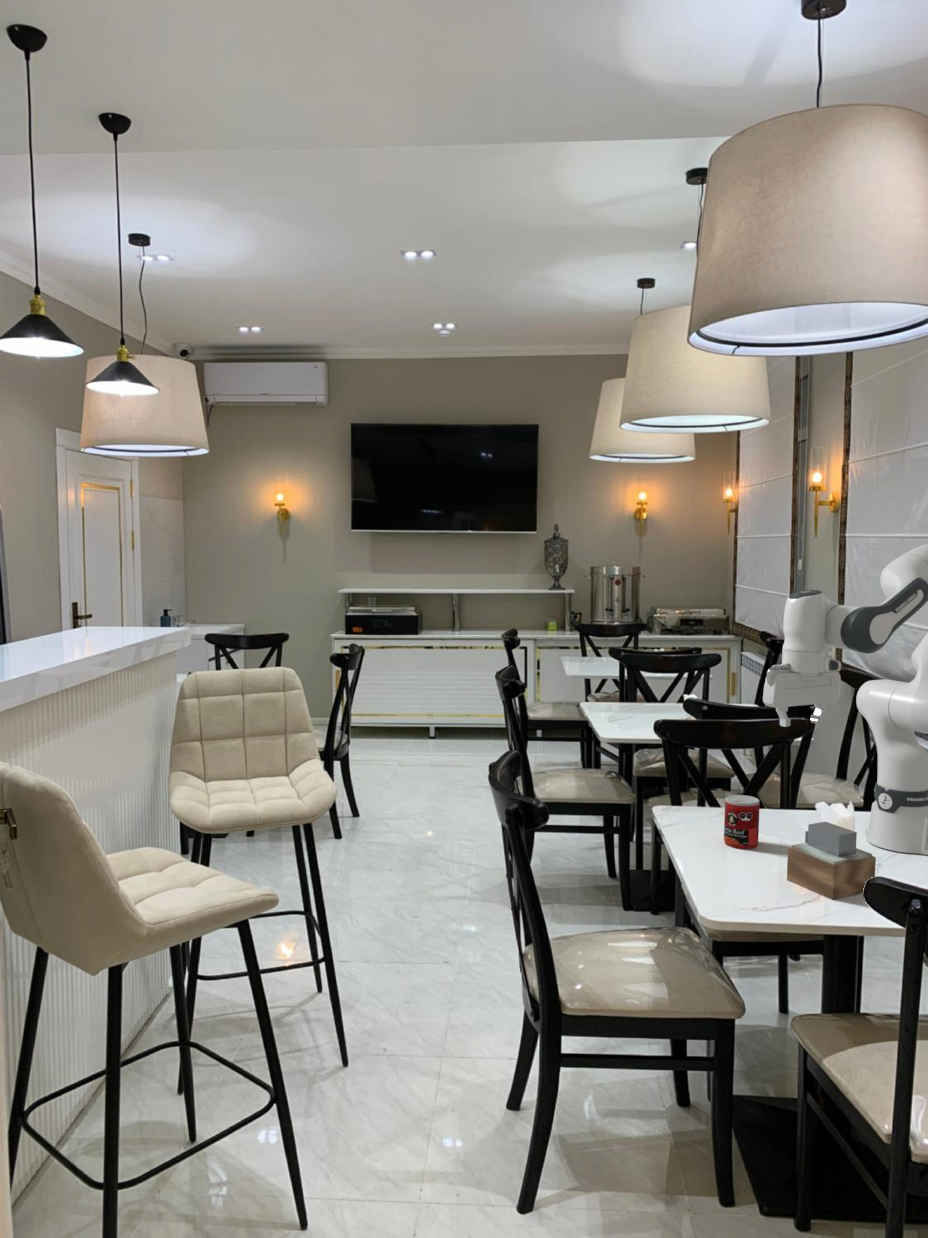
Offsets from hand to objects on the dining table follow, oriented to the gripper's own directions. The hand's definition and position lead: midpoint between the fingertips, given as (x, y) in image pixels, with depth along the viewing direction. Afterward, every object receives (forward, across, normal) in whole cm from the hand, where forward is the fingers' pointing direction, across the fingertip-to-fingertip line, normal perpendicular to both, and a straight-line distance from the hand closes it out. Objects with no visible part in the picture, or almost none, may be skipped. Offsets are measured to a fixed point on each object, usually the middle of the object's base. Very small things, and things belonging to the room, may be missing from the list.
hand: (800, 724), depth 198 cm
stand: (+31, -5, -14) cm, 34 cm away
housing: (+24, -5, -14) cm, 28 cm away
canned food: (+31, -3, +14) cm, 34 cm away
